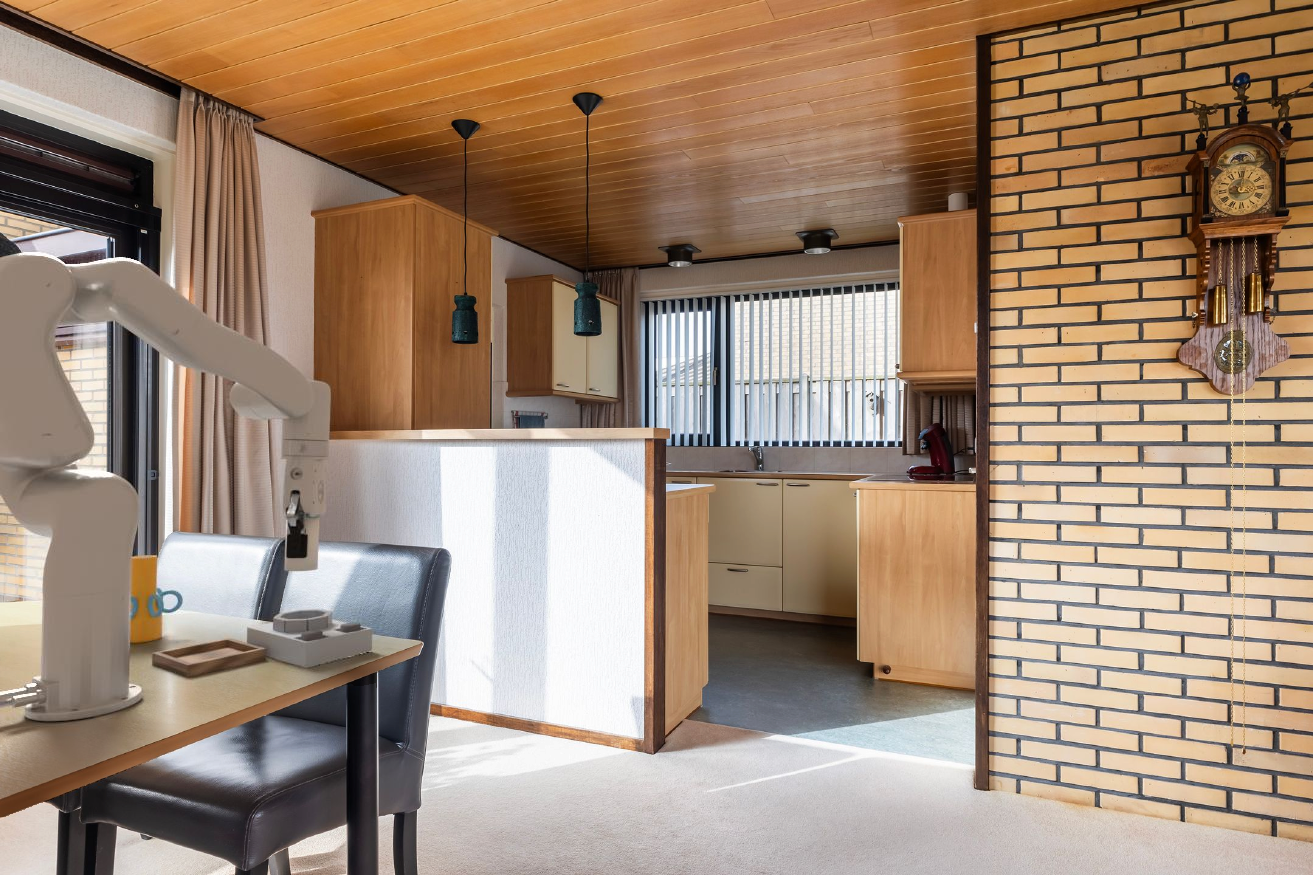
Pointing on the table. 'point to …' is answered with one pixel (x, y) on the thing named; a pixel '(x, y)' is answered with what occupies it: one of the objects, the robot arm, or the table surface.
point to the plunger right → (350, 627)
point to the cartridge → (312, 547)
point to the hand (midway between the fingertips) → (301, 554)
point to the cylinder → (147, 600)
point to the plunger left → (311, 635)
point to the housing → (289, 647)
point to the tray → (208, 656)
